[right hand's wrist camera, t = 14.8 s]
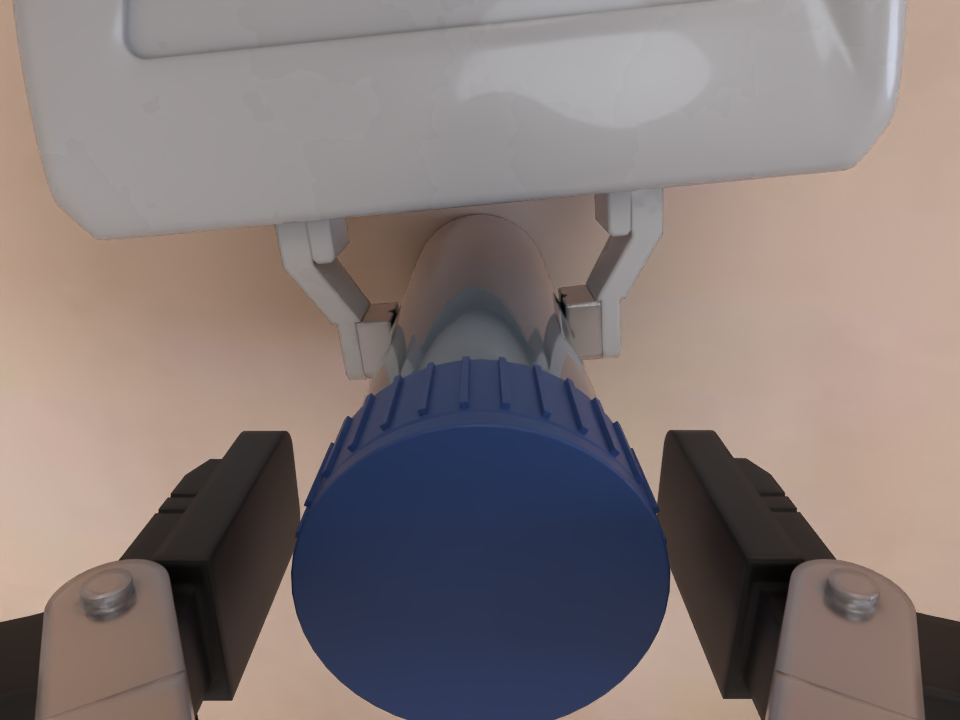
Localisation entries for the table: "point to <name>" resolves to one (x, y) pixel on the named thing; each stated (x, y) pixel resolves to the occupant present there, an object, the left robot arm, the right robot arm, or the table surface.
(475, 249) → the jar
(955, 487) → the table surface
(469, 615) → the lid
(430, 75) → the left robot arm
